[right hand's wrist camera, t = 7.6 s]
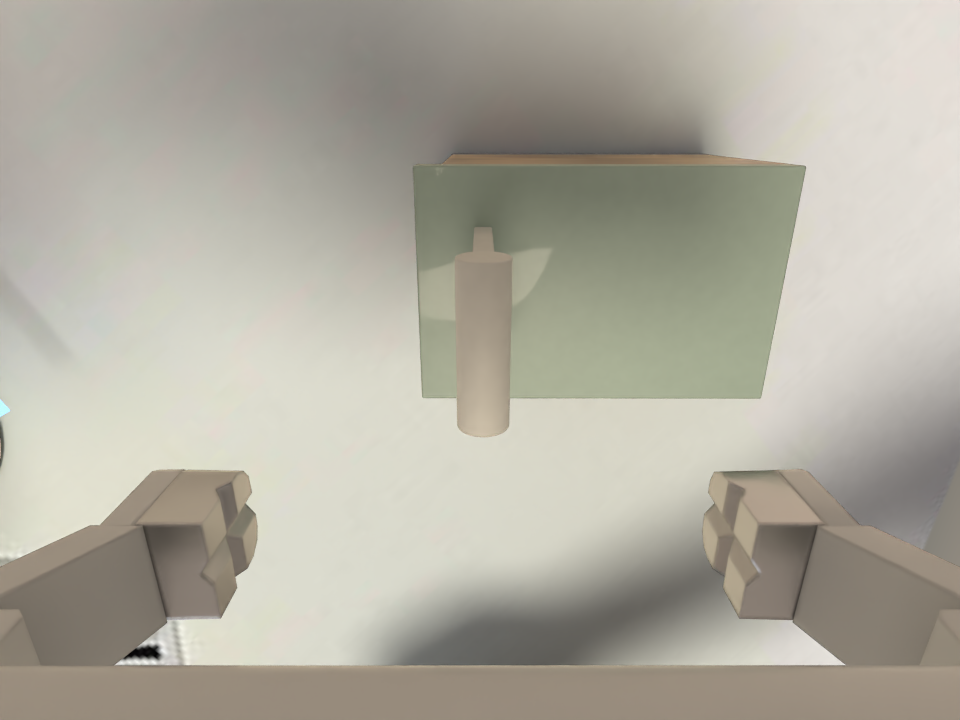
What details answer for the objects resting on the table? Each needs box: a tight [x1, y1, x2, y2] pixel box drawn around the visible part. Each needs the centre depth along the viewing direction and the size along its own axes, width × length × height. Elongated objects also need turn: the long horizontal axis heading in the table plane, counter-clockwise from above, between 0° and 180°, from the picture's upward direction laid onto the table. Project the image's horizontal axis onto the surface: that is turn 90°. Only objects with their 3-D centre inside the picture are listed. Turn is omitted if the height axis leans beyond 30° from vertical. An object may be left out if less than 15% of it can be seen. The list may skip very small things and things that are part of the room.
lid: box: [413, 164, 806, 437], centre depth 21 cm, size 15×10×8 cm, turn 90°
